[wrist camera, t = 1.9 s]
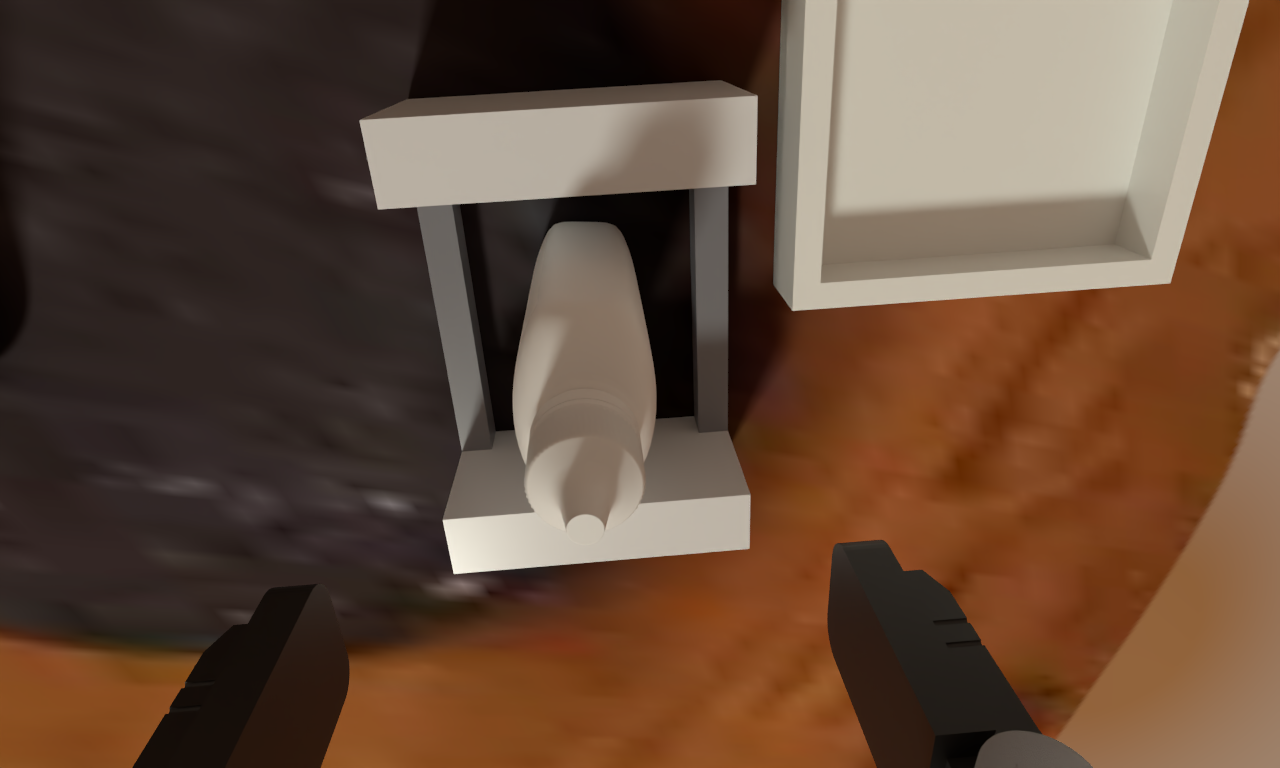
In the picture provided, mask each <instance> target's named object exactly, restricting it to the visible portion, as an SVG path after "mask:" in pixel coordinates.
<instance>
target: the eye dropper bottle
mask: <svg viewBox="0 0 1280 768" xmlns="http://www.w3.org/2000/svg"><path fill="white" fill-rule="evenodd" d="M513 418H514V427H515V433H516V437H517V441H518V446H519V449H520V452H521V455H522V458H523V460H524V463H525V465H526V467H525V475H524V487H525V493H526V498H527V499H528V503H530V504H531V508H533V509H534V512H535V513H537V514H538V516H539V517H541V518H542V520H544V521H546V523H548V524H550V525H551V526H553V527H556V528H557V529H561V530H562V531H566V533H567V535H568V537H569V539H570V540H571V541H573V542H574V543H576V544H579V545H591V544H594V543H596V542H598V541H599V540H600V539H601V538H602V537H603V535H604V532H605V531H606V530H609V529H611V528H613V527H616V526H617V525H619V524H621V523H622V522H623V521H626V519H627V518H629V517H631V516H630V515H631V514H633V513H634V510H636V509H637V508H638V505H639V504H641V500H642V499H643V495H644V494H645V491H644V490H645V488H646V486H645V484H646V474H645V467H644V462H645V460H646V457H647V454H648V451H649V448H650V445H651V441H652V437H653V432H654V426H655V419H656V380H655V372H654V364H653V359H652V354H651V348H650V343H649V338H648V332H647V327H646V323H645V318H644V313H643V308H642V303H641V298H640V293H639V288H638V283H637V278H636V274H635V269H634V265H633V261H632V258H631V255H630V251H629V249H628V246H627V243H626V241H625V239H624V237H623V235H622V233H621V231H620V230H619V229H618V228H617V227H616V226H615V225H612V224H609V223H605V222H561V223H558V224H554V225H553V226H552V228H551V229H550V230H549V231H548V232H547V234H546V236H545V238H544V240H543V243H542V245H541V248H540V251H539V254H538V257H537V260H536V264H535V268H534V272H533V277H532V282H531V287H530V292H529V297H528V302H527V308H526V313H525V318H524V323H523V328H522V333H521V338H520V343H519V349H518V354H517V360H516V366H515V373H514V381H513Z"/></svg>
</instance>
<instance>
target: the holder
mask: <svg viewBox="0 0 1280 768" xmlns="http://www.w3.org/2000/svg"><path fill="white" fill-rule="evenodd" d="M757 100H758V96H757V95H755V94H753V93H750V92H748V91H746V90H743V89H741V88H738V87H736V86H734V85H731V84H729V83H727V82H724V81H722V80H716V81H699V82H683V83H666V84H650V85H633V86H617V87H600V88H584V89H567V90H551V91H534V92H518V93H501V94H485V95H468V96H452V97H435V98H419V99H407V100H404V101H402V102H400V103H397V104H395V105H393V106H391V107H388V108H386V109H384V110H381V111H379V112H377V113H375V114H372V115H370V116H368V117H365V118H363V119H361V120H360V125H361V130H362V135H363V139H364V144H365V149H366V154H367V159H368V164H369V168H370V173H371V178H372V183H373V188H374V192H375V197H376V202H377V207H378V209H392V208H408V207H417V210H418V215H419V221H420V226H421V232H422V237H423V243H424V248H425V253H426V259H427V264H428V270H429V275H430V280H431V286H432V291H433V297H434V302H435V308H436V313H437V318H438V324H439V329H440V335H441V340H442V345H443V351H444V356H445V362H446V367H447V373H448V378H449V383H450V389H451V394H452V400H453V405H454V411H455V416H456V421H457V427H458V432H459V438H460V443H461V448H462V454H461V457H460V461H459V464H458V468H457V471H456V475H455V478H454V482H453V485H452V489H451V492H450V496H449V500H448V503H447V507H446V510H445V514H444V517H443V524H444V529H445V533H446V538H447V543H448V548H449V553H450V557H451V562H452V567H453V572H454V574H459V573H470V572H482V571H494V570H506V569H517V568H529V567H541V566H553V565H564V564H576V563H588V562H600V561H611V560H623V559H635V558H647V557H658V556H670V555H682V554H694V553H705V552H717V551H729V550H741V549H749V544H750V492H749V489H748V486H747V484H746V481H745V478H744V475H743V472H742V469H741V467H740V464H739V461H738V458H737V455H736V452H735V449H734V447H733V444H732V441H731V438H730V435H729V432H728V186H740V185H755V184H756V155H757ZM680 189H689V206H690V253H691V299H692V346H693V392H694V416H689V417H676V418H663V419H655V426H654V432H653V437H652V441H651V445H650V448H649V451H648V454H647V457H646V460H645V462H644V467H645V474H646V484H645V486H646V488H645V490H644V491H645V494H644V495H643V499H642V500H641V504H639V505H638V508H637V509H636V510H634V513H633V514H631V515H630V516H631V517H629V518H627V519H626V521H623V522H622V523H621V524H619V525H617V526H616V527H613V528H611V529H609V530H606V531H605V532H604V535H603V537H602V538H601V539H600V540H599V541H598V542H596V543H594V544H591V545H579V544H576V543H574V542H573V541H571V540H570V539H569V537H568V535H567V533H566V531H562V530H561V529H557V528H556V527H553V526H551V525H550V524H548V523H546V521H544V520H542V518H541V517H539V516H538V514H537V513H535V512H534V509H533V508H531V504H530V503H528V499H527V498H526V493H525V487H524V475H525V467H526V465H525V463H524V460H523V458H522V455H521V452H520V449H519V446H518V441H517V437H516V433H515V430H509V431H497V432H496V430H495V423H494V417H493V411H492V404H491V398H490V392H489V386H488V379H487V373H486V367H485V360H484V354H483V348H482V341H481V335H480V329H479V323H478V316H477V310H476V304H475V297H474V291H473V285H472V278H471V272H470V266H469V260H468V253H467V247H466V241H465V234H464V228H463V222H462V215H461V209H460V204H468V203H483V202H498V201H513V200H528V199H544V198H559V197H574V196H589V195H604V194H619V193H634V192H649V191H664V190H680Z"/></svg>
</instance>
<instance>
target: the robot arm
mask: <svg viewBox="0 0 1280 768" xmlns="http://www.w3.org/2000/svg"><path fill="white" fill-rule="evenodd" d="M828 633H829V640H830V645H831V649H832V653H833V656H834V659H835V661H836V664H837V666H838V669H839V671H840V674H841V677H842V679H843V682H844V684H845V687H846V689H847V692H848V694H849V697H850V700H851V702H852V705H853V707H854V710H855V712H856V715H857V717H858V720H859V723H860V725H861V728H862V730H863V733H864V735H865V738H866V740H867V743H868V746H869V748H870V751H871V753H872V756H873V758H874V761H875V763H876V766H877V768H1093V767H1092V766H1091V765H1090V764H1089V763H1088V762H1087V761H1086V760H1085V759H1084V758H1083V757H1082V756H1081V755H1079V754H1078V753H1077V752H1075V751H1074V750H1073V749H1071V748H1070V747H1068V746H1066V745H1064V744H1063V743H1061V742H1059V741H1057V740H1055V739H1053V738H1050V737H1048V736H1045V735H1042V733H1041V732H1040V731H1039V729H1038V728H1037V726H1036V725H1035V723H1034V722H1033V720H1032V719H1031V717H1030V715H1029V714H1028V712H1027V711H1026V709H1025V708H1024V706H1023V705H1022V703H1021V701H1020V700H1019V698H1018V697H1017V695H1016V694H1015V692H1014V691H1013V689H1012V687H1011V686H1010V684H1009V683H1008V681H1007V680H1006V678H1005V677H1004V675H1003V673H1002V672H1001V670H1000V669H999V667H998V666H997V664H996V663H995V661H994V660H993V658H992V656H991V655H990V653H989V652H988V650H987V649H986V647H985V646H984V645H983V646H982V644H981V639H980V638H979V636H978V635H977V633H976V632H975V630H974V628H973V627H972V625H971V624H970V623H967V618H966V616H965V614H964V613H963V611H962V610H961V608H960V607H959V605H958V604H957V602H956V600H955V599H954V597H953V596H952V594H951V593H950V591H948V590H947V589H946V588H945V587H943V586H942V585H941V584H939V583H938V582H937V581H936V580H934V579H933V578H932V577H931V576H929V575H928V574H927V573H925V572H924V571H923V570H914V571H903V569H902V568H901V566H900V564H899V563H898V561H897V559H896V557H895V556H894V554H893V552H892V551H891V549H890V547H889V546H888V544H887V543H886V542H885V541H884V540H874V541H861V542H849V543H837V544H836V545H835V546H834V549H833V554H832V566H831V579H830V591H829V604H828ZM348 685H349V659H348V655H347V651H346V648H345V644H344V641H343V638H342V634H341V631H340V628H339V624H338V621H337V618H336V614H335V611H334V608H333V604H332V601H331V598H330V595H329V592H328V590H327V588H326V587H325V586H324V585H323V584H313V585H301V586H288V587H276V588H271V589H270V590H268V591H267V592H266V594H265V595H264V597H263V598H262V600H261V602H260V604H259V605H258V607H257V609H256V611H255V612H254V614H253V616H252V618H251V619H250V621H249V623H248V624H242V625H233V626H232V627H231V628H230V629H229V630H228V631H227V632H226V633H224V634H223V635H222V636H221V637H220V638H219V639H218V640H217V641H216V642H214V643H213V644H212V645H211V646H210V647H209V648H208V649H207V650H206V651H205V652H204V653H203V654H202V656H201V657H200V659H199V661H198V662H197V664H196V665H195V667H194V669H193V670H192V672H191V674H190V675H189V677H188V678H187V680H186V682H185V688H182V689H181V690H180V691H179V693H178V695H177V696H176V698H175V699H174V701H173V703H172V704H171V706H170V712H169V714H165V716H164V717H163V719H162V721H161V722H160V724H159V725H158V727H157V729H156V730H155V732H154V733H153V735H152V737H151V738H150V740H149V742H148V743H147V745H146V746H145V748H144V750H143V751H142V753H141V755H140V756H139V758H138V759H137V761H136V763H135V764H134V766H133V768H321V765H322V762H323V759H324V757H325V754H326V751H327V748H328V746H329V743H330V740H331V737H332V735H333V732H334V729H335V726H336V724H337V721H338V718H339V715H340V712H341V710H342V707H343V704H344V701H345V698H346V695H347V691H348Z"/></svg>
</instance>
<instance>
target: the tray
mask: <svg viewBox="0 0 1280 768" xmlns="http://www.w3.org/2000/svg"><path fill="white" fill-rule="evenodd" d="M1248 3H1249V0H782V5H781V39H780V72H779V106H778V139H777V172H776V206H775V239H774V273H773V285H774V286H775V287H776V289H777V290H778V292H779V293H780V294H781V296H782V297H783V298H784V300H785V301H786V303H787V304H788V305H789V307H790V308H791V310H792V311H797V310H810V309H824V308H838V307H852V306H865V305H879V304H893V303H906V302H920V301H934V300H948V299H961V298H975V297H989V296H1002V295H1016V294H1030V293H1044V292H1057V291H1071V290H1085V289H1098V288H1112V287H1126V286H1140V285H1153V284H1167V283H1171V279H1172V275H1173V272H1174V268H1175V265H1176V261H1177V257H1178V254H1179V250H1180V247H1181V243H1182V239H1183V236H1184V232H1185V229H1186V225H1187V222H1188V218H1189V214H1190V211H1191V207H1192V204H1193V200H1194V196H1195V193H1196V189H1197V186H1198V182H1199V179H1200V175H1201V171H1202V168H1203V164H1204V161H1205V157H1206V153H1207V150H1208V146H1209V143H1210V139H1211V135H1212V132H1213V128H1214V125H1215V121H1216V118H1217V114H1218V110H1219V107H1220V103H1221V100H1222V96H1223V92H1224V89H1225V85H1226V82H1227V78H1228V75H1229V71H1230V67H1231V64H1232V60H1233V57H1234V53H1235V49H1236V46H1237V42H1238V39H1239V35H1240V31H1241V28H1242V24H1243V21H1244V17H1245V14H1246V10H1247V6H1248Z"/></svg>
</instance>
